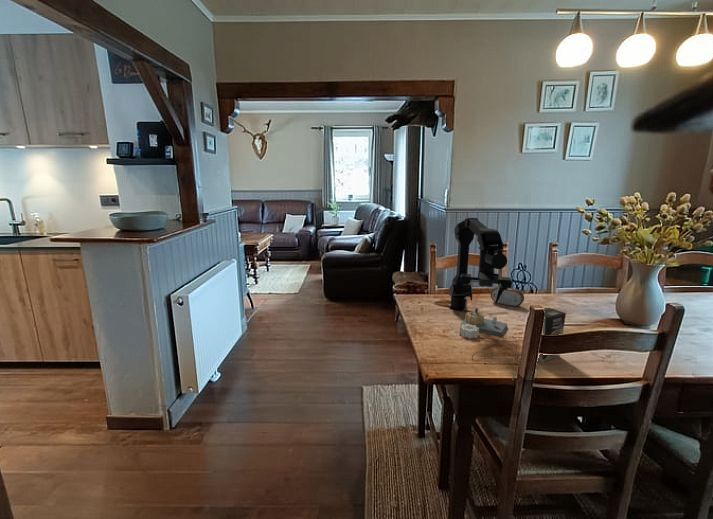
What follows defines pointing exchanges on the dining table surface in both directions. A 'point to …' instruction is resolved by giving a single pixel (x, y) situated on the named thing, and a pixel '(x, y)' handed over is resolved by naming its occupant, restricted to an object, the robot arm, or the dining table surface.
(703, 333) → the dining table surface
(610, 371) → the dining table surface
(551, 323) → the coffee box
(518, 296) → the tin
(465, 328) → the loose gear
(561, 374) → the dining table surface
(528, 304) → the dining table surface
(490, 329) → the gear board
